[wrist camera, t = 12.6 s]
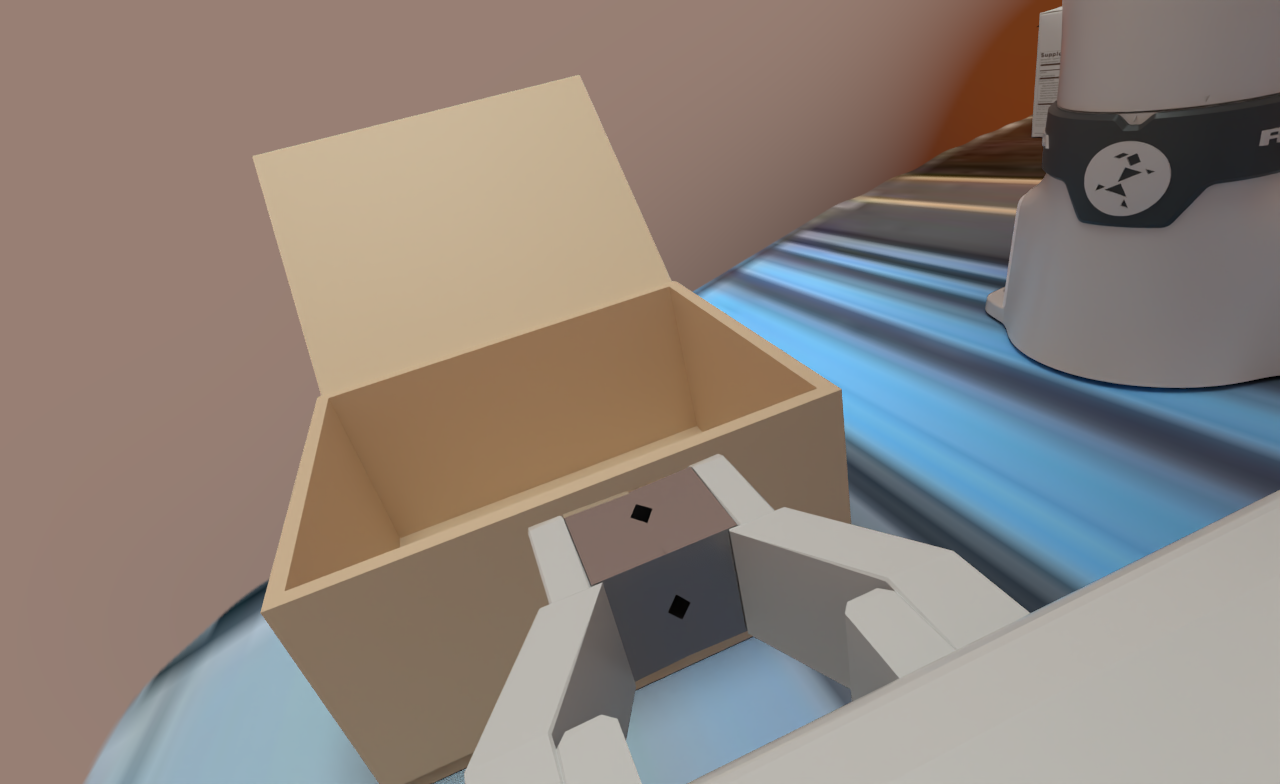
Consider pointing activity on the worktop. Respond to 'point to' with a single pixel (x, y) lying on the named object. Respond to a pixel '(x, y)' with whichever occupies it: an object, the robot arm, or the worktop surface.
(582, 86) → the carton flap
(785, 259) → the worktop surface
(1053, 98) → the supplement box
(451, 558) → the carton
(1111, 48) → the robot arm
